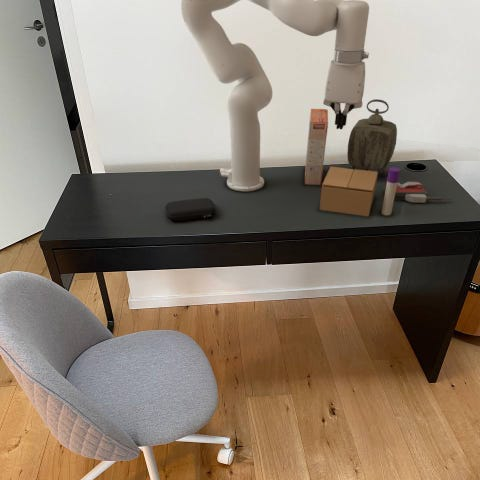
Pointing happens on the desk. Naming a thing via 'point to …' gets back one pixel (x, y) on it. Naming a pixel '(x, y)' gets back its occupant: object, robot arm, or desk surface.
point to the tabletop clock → (372, 142)
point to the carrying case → (190, 209)
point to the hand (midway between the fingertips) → (339, 127)
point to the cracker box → (316, 146)
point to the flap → (338, 177)
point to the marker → (390, 190)
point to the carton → (351, 194)
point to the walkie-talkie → (414, 193)
